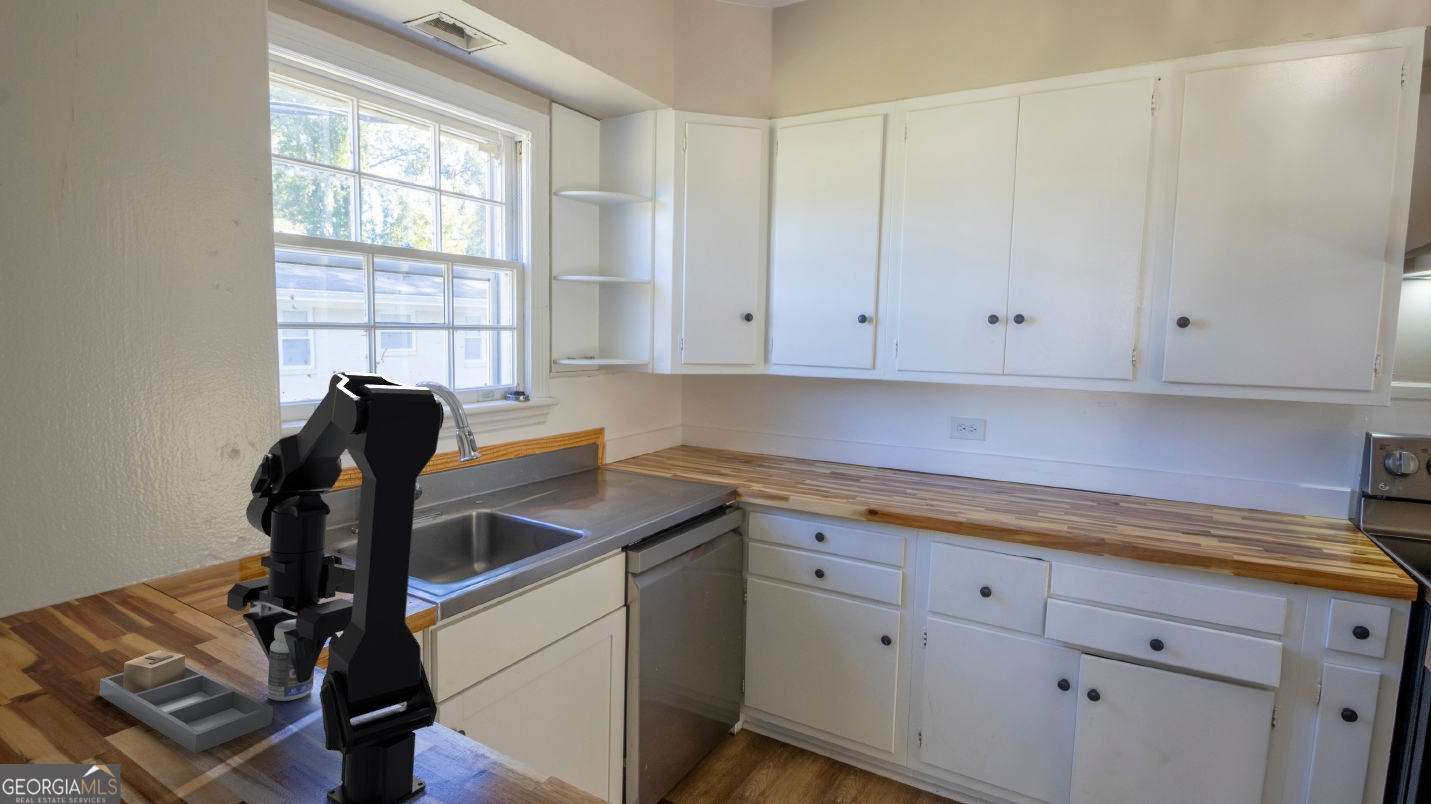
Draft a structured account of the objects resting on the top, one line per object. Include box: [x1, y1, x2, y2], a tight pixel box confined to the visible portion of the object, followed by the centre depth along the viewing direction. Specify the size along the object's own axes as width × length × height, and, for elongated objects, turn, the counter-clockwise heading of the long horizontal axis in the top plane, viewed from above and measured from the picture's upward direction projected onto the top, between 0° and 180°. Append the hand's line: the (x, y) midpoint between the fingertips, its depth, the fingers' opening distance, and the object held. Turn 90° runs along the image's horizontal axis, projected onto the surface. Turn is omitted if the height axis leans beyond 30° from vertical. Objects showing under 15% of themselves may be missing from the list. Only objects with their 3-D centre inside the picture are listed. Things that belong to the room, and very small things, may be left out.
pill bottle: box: [266, 619, 315, 702], centre depth 83 cm, size 5×5×8 cm
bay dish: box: [99, 662, 274, 755], centre depth 78 cm, size 22×8×3 cm, turn 62°
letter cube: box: [123, 649, 186, 694], centre depth 82 cm, size 4×4×4 cm
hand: (291, 676), depth 83 cm, fingers closed on pill bottle, 5 cm apart
